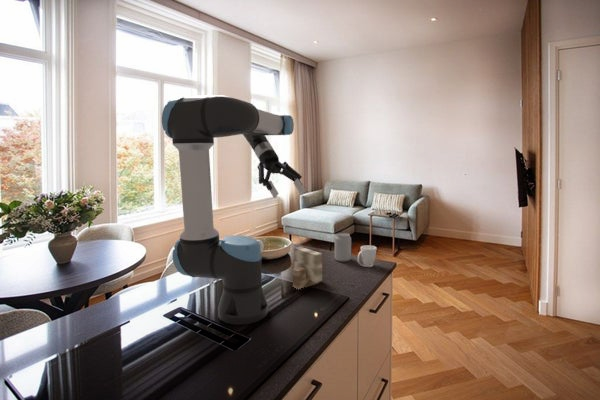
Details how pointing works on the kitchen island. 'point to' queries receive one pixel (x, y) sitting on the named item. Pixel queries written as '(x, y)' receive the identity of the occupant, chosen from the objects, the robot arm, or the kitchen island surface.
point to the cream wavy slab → (309, 263)
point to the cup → (367, 255)
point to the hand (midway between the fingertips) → (290, 194)
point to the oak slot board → (301, 278)
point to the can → (342, 247)
